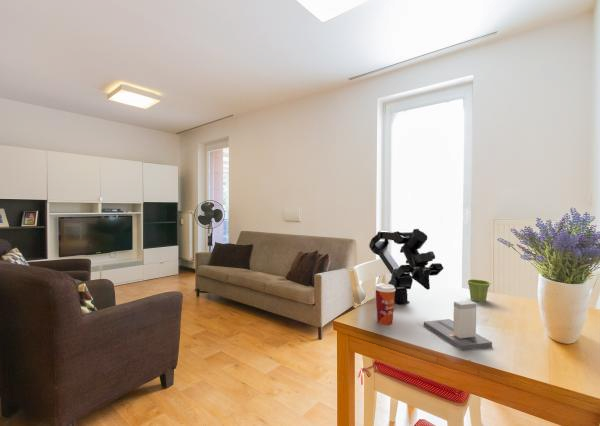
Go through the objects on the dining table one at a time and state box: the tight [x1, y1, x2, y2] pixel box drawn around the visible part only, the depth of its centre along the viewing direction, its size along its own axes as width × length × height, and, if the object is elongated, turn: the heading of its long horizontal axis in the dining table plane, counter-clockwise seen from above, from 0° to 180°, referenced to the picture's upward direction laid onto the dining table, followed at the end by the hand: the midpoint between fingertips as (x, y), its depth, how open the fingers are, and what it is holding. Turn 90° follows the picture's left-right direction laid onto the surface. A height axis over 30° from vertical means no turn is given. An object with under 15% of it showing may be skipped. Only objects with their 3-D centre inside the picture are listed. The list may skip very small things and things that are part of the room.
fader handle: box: [453, 300, 477, 338], centre depth 97 cm, size 3×6×11 cm, turn 103°
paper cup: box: [374, 283, 396, 326], centre depth 113 cm, size 8×8×14 cm
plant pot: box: [466, 278, 491, 303], centre depth 138 cm, size 9×9×9 cm
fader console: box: [423, 318, 493, 352], centre depth 101 cm, size 19×11×2 cm, turn 13°
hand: (428, 289), depth 115 cm, fingers closed
